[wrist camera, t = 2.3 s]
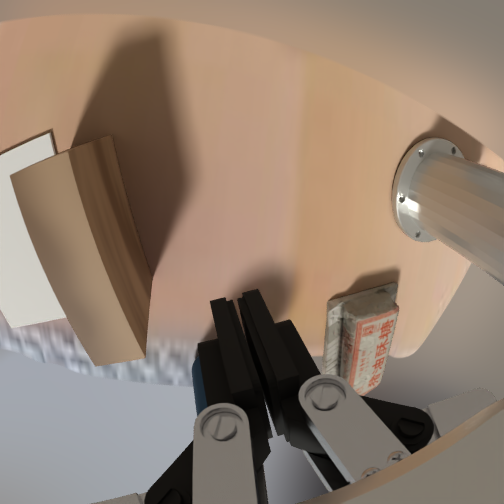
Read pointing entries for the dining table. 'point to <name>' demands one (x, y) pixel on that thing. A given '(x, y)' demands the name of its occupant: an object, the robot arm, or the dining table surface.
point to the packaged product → (360, 336)
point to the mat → (22, 246)
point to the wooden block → (89, 247)
